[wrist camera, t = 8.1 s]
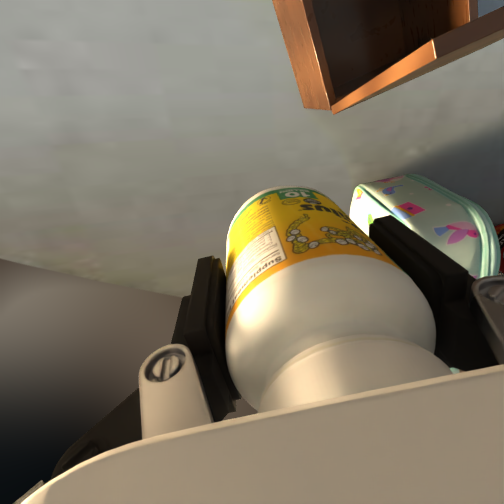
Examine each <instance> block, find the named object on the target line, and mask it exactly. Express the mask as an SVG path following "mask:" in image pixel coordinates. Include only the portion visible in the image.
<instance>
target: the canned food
mask: <svg viewBox="0 0 504 504" xmlns="http://www.w3.org/2000/svg"><path fill="white" fill-rule="evenodd" d="M494 228H495V231H496V234H497V236H498V240H499V245H500V252H501V259H500V267H499V271H501V272H502V273H504V224H500V225H497V226H495V227H494Z"/></svg>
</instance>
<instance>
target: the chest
mask: <svg viewBox="0 0 504 504" xmlns="http://www.w3.org/2000/svg"><path fill="white" fill-rule="evenodd" d="M272 1H273V4H274V8H275V11H276V15H277V18H278V21H279V25H280V28H281V31H282V35H283V38H284V41H285V45H286V48H287V51H288V55H289V58H290V61H291V65H292V68H293V71H294V75H295V78H296V82H297V85H298V88H299V92H300V95H301V98H302V102H303V105H304V108H311V109H322V110H332V109H331V106H333V105H334V104H336V103H337V102H339V101H340V100H342V99H343V98H345V97H346V96H348V95H349V94H351V93H352V92H354V91H355V90H357V89H358V88H360V87H361V86H363V85H364V84H366V83H367V82H369V81H370V80H372V79H373V78H375V77H376V76H378V75H379V74H381V73H382V72H384V71H385V70H387V69H388V68H390V67H391V66H393V65H394V64H396V63H397V62H399V61H400V60H402V59H403V58H405V57H406V56H408V55H409V54H411V53H412V52H414V51H415V50H417V49H418V48H420V47H421V46H423V45H424V44H426V43H427V42H429V41H430V40H432V39H434V38H436V37H438V36H440V35H442V34H444V33H447V32H449V31H451V30H453V29H455V28H457V27H460V26H462V25H464V24H466V23H468V22H470V21H473V20H475V19H477V18H478V1H477V0H272Z"/></svg>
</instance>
